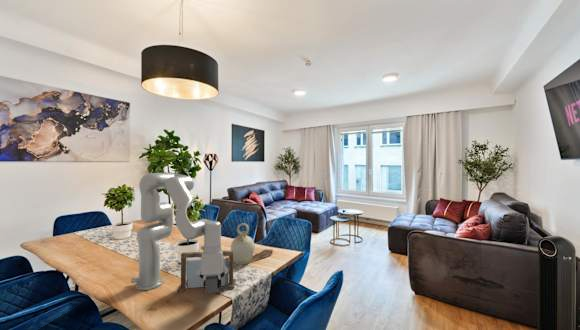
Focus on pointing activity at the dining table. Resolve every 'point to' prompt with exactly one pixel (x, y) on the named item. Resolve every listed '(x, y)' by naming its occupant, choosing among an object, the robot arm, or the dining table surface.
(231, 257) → the door frame
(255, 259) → the wooden fragment
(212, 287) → the doorstop
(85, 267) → the dining table surface
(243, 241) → the jug
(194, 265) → the grey door panel
